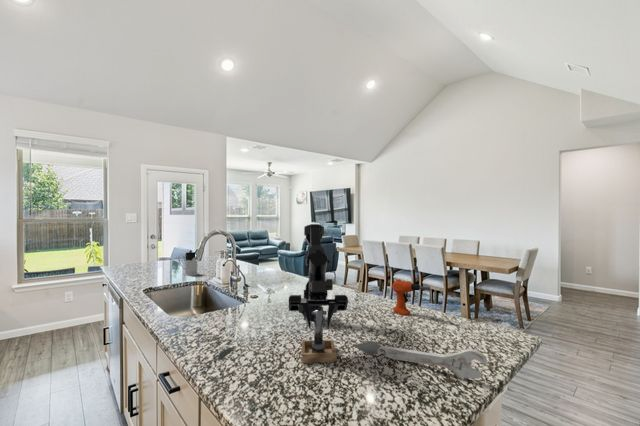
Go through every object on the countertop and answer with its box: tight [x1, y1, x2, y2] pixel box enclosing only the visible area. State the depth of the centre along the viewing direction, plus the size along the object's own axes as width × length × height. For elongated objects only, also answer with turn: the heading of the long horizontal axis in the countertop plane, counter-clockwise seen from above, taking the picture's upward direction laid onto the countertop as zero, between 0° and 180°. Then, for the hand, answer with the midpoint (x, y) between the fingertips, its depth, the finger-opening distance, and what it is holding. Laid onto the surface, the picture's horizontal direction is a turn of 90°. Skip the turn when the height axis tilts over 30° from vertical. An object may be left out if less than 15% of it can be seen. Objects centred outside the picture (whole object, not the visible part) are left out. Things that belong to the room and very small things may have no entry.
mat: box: [353, 340, 385, 356], centre depth 100 cm, size 8×8×1 cm
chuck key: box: [312, 309, 327, 353], centre depth 95 cm, size 4×4×13 cm
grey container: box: [177, 251, 199, 277], centre depth 217 cm, size 9×14×15 cm, turn 80°
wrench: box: [376, 345, 488, 381], centre depth 87 cm, size 8×2×30 cm
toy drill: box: [391, 279, 431, 317], centre depth 133 cm, size 5×19×15 cm, turn 42°
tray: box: [301, 339, 338, 364], centre depth 95 cm, size 10×10×3 cm
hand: (319, 328), depth 93 cm, fingers open, 5 cm apart
